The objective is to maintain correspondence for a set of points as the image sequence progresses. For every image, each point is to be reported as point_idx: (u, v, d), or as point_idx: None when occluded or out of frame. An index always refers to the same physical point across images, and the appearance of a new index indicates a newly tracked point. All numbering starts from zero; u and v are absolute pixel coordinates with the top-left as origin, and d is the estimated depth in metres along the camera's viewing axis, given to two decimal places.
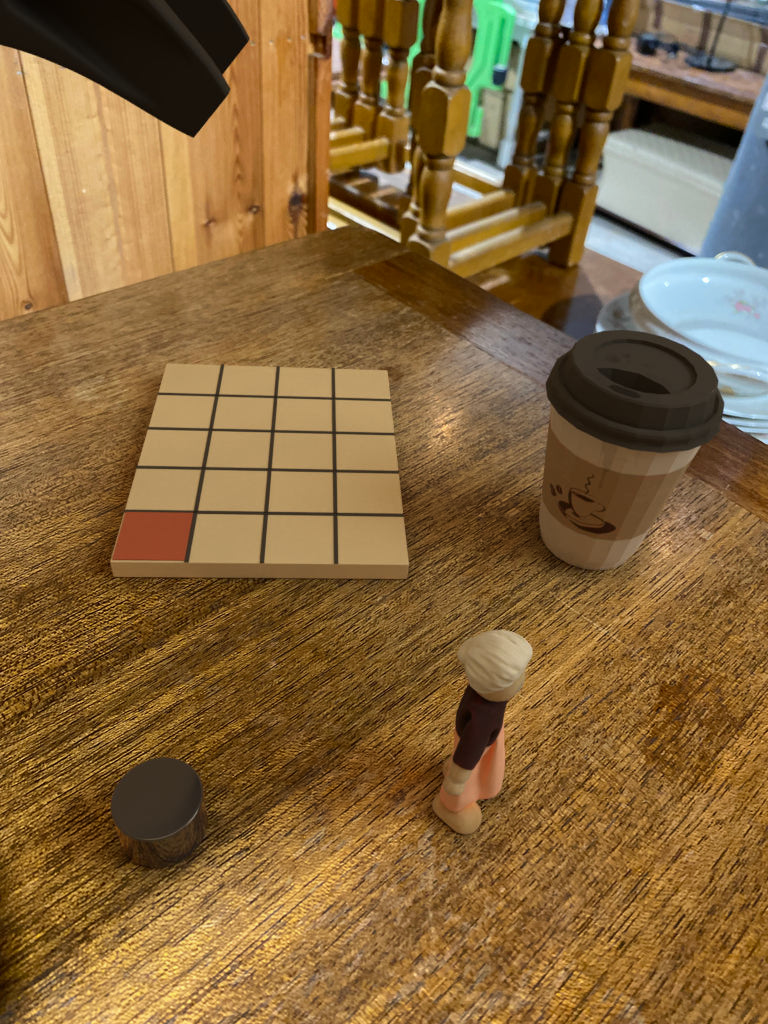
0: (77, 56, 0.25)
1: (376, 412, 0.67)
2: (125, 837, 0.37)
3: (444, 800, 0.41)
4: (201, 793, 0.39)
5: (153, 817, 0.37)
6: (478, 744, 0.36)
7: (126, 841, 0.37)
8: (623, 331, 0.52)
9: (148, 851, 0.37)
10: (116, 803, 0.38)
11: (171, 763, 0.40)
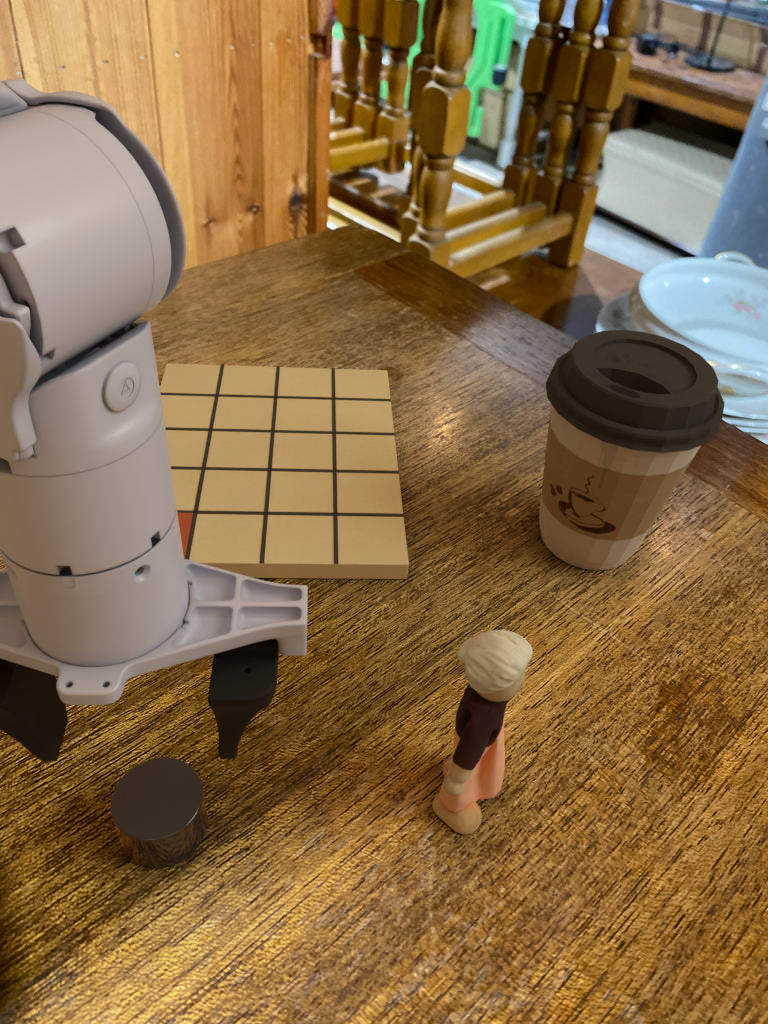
0: None
1: (376, 412, 0.67)
2: (125, 837, 0.37)
3: (444, 800, 0.41)
4: (201, 793, 0.39)
5: (153, 817, 0.37)
6: (478, 744, 0.36)
7: (126, 841, 0.37)
8: (623, 331, 0.52)
9: (148, 851, 0.37)
10: (116, 803, 0.38)
11: (171, 763, 0.40)
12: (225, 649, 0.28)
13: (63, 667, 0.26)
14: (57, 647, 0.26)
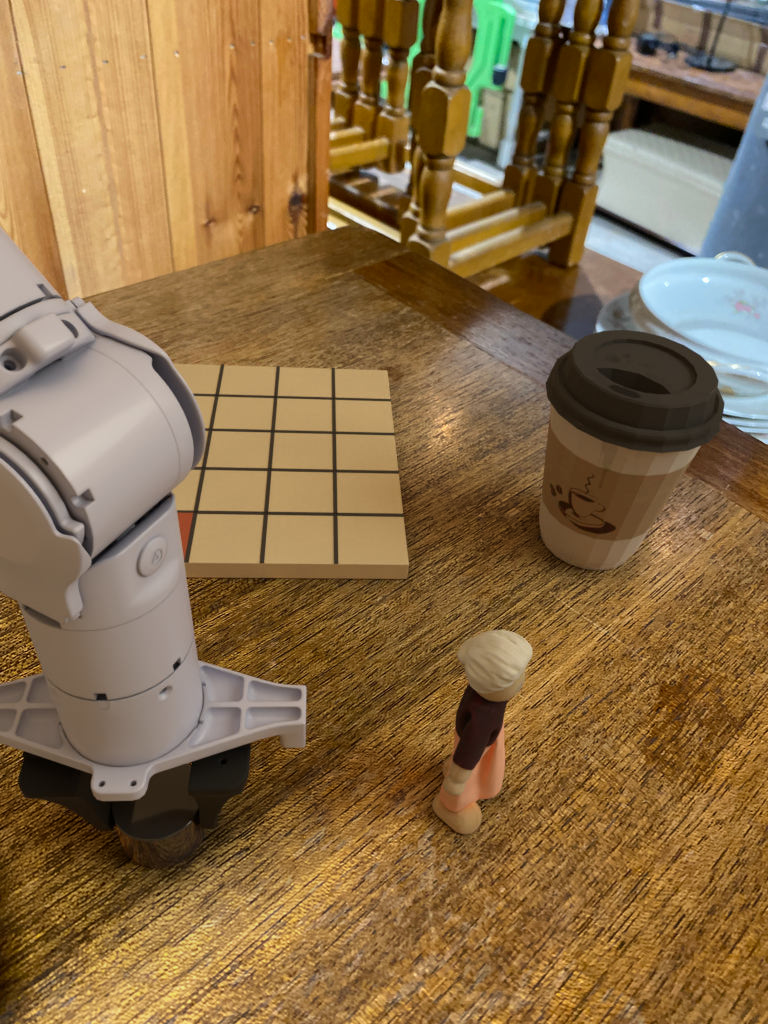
0: None
1: (376, 412, 0.67)
2: (126, 837, 0.37)
3: (444, 800, 0.41)
4: None
5: (153, 817, 0.37)
6: (478, 744, 0.36)
7: (126, 841, 0.37)
8: (623, 331, 0.52)
9: (149, 851, 0.37)
10: (116, 803, 0.38)
11: None
12: (235, 746, 0.33)
13: (96, 767, 0.31)
14: (91, 751, 0.31)
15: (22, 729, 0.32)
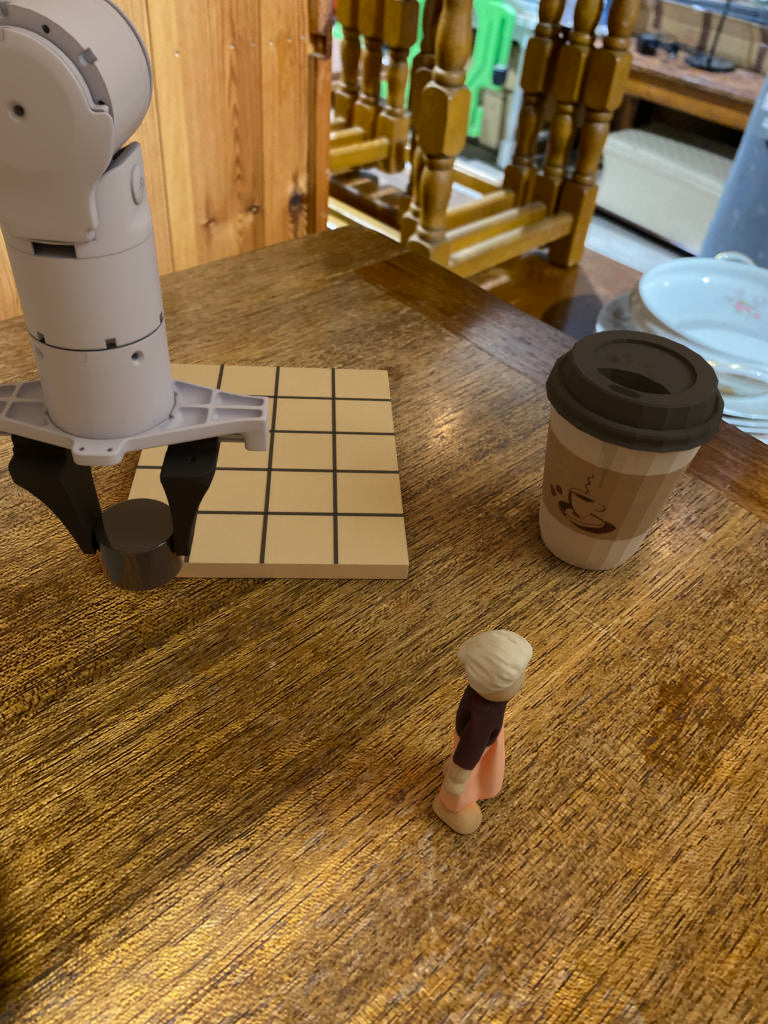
0: None
1: (376, 412, 0.67)
2: (106, 552, 0.41)
3: (444, 800, 0.41)
4: None
5: (132, 537, 0.41)
6: (478, 744, 0.36)
7: (107, 558, 0.41)
8: (623, 331, 0.52)
9: (127, 568, 0.41)
10: (99, 527, 0.42)
11: (150, 502, 0.43)
12: (202, 437, 0.36)
13: (76, 439, 0.35)
14: (72, 421, 0.34)
15: (11, 416, 0.36)
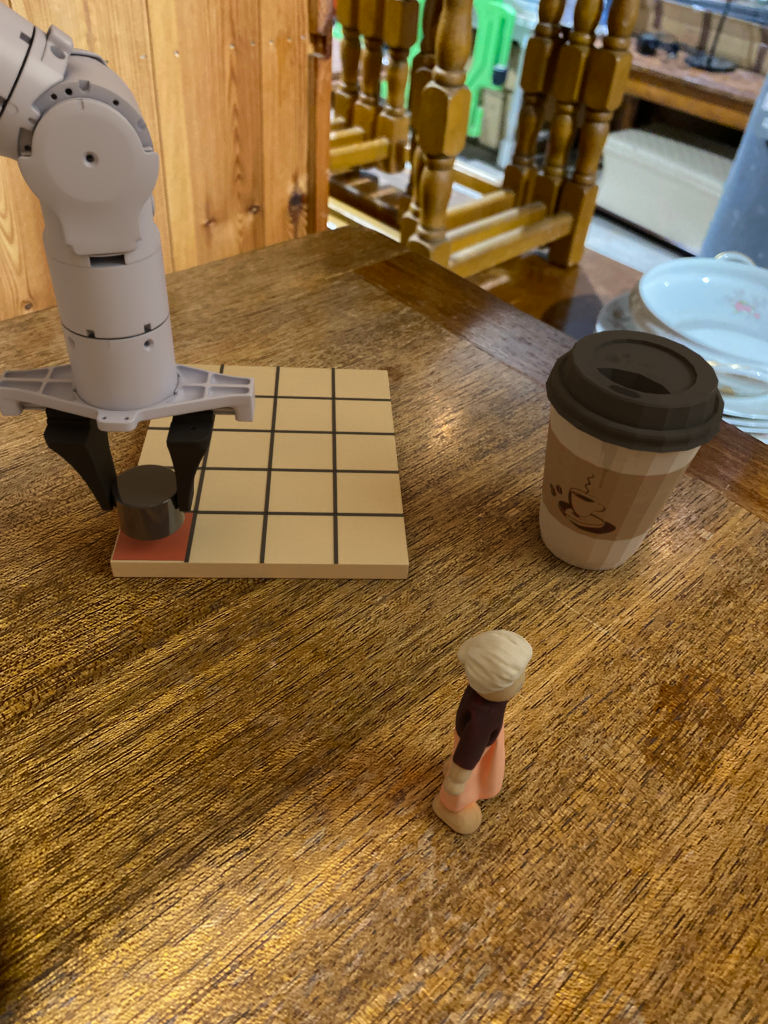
0: None
1: (376, 412, 0.67)
2: (122, 507, 0.49)
3: (444, 800, 0.41)
4: None
5: (142, 495, 0.50)
6: (478, 744, 0.36)
7: (122, 512, 0.50)
8: (623, 331, 0.52)
9: (139, 520, 0.50)
10: (115, 487, 0.50)
11: (157, 467, 0.52)
12: (200, 409, 0.45)
13: (100, 410, 0.43)
14: (96, 396, 0.43)
15: (46, 393, 0.45)
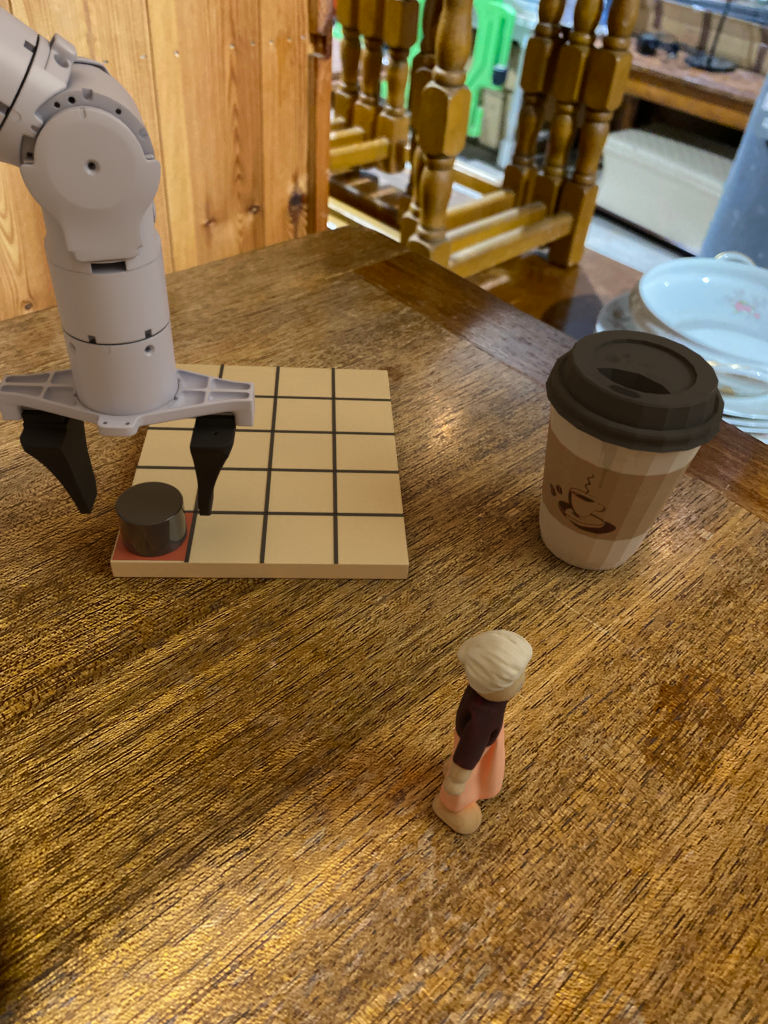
0: None
1: (376, 412, 0.67)
2: (125, 524, 0.51)
3: (444, 800, 0.41)
4: (182, 501, 0.52)
5: (146, 513, 0.51)
6: (478, 744, 0.36)
7: (126, 529, 0.51)
8: (623, 331, 0.52)
9: (142, 537, 0.51)
10: (119, 504, 0.51)
11: (160, 484, 0.53)
12: (200, 414, 0.45)
13: (101, 415, 0.43)
14: (97, 401, 0.43)
15: (47, 398, 0.45)
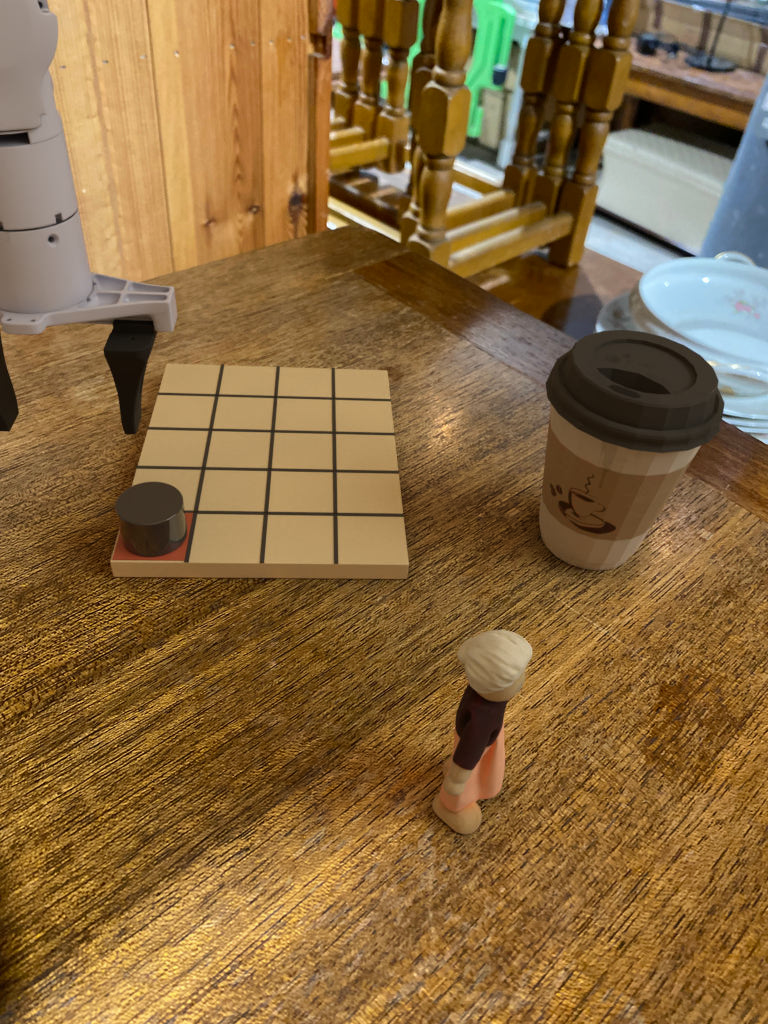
0: None
1: (376, 412, 0.67)
2: (125, 524, 0.51)
3: (444, 800, 0.41)
4: (182, 501, 0.52)
5: (146, 513, 0.51)
6: (478, 744, 0.36)
7: (126, 529, 0.51)
8: (623, 331, 0.52)
9: (142, 537, 0.51)
10: (119, 504, 0.51)
11: (160, 484, 0.53)
12: (114, 316, 0.43)
13: (5, 313, 0.41)
14: (1, 298, 0.41)
15: None
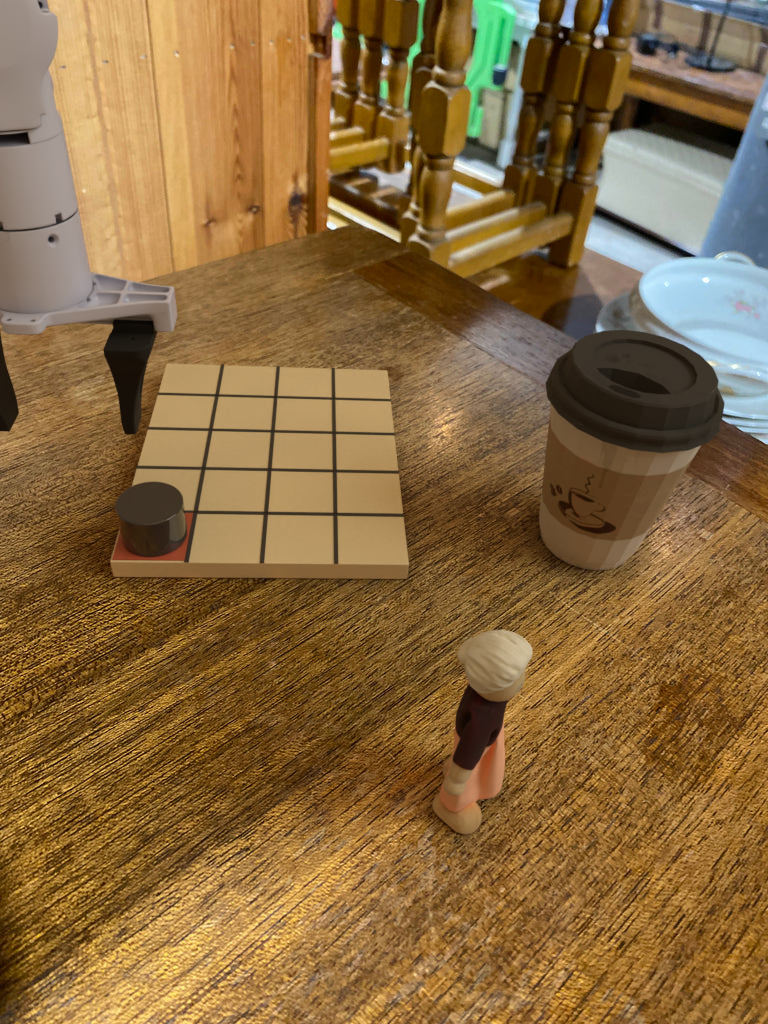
0: None
1: (376, 412, 0.67)
2: (125, 524, 0.51)
3: (444, 800, 0.41)
4: (182, 501, 0.52)
5: (146, 513, 0.51)
6: (478, 744, 0.36)
7: (126, 529, 0.51)
8: (623, 331, 0.52)
9: (142, 537, 0.51)
10: (119, 504, 0.51)
11: (160, 484, 0.53)
12: (114, 316, 0.43)
13: (5, 313, 0.41)
14: (1, 298, 0.41)
15: None
